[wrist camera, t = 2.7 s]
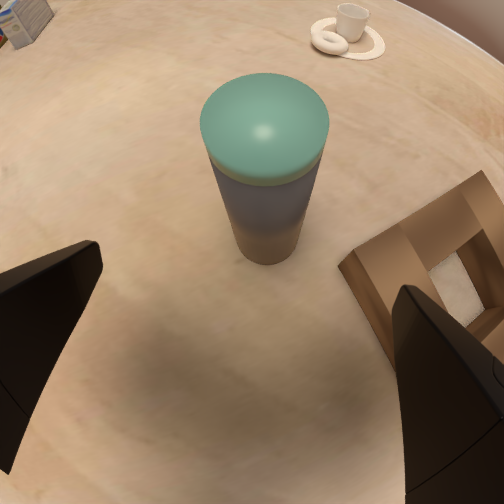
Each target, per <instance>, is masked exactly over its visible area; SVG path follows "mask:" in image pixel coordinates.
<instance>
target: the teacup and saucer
mask: <svg viewBox="0 0 504 504" xmlns="http://www.w3.org/2000/svg"><path fill="white" fill-rule="evenodd" d="M370 15H371V13H370V12H369V11H368V10H367V9H364V8H363V7H361V6H358V5H355V4H350V3H343V4H340V5H338V7H337V18H325V19H321V20H319V21H317V22H315V23H314V24H313V25H312V27H311V30H310V32H311V41H312V44H313V45H314V46H315V47H316V48H317V49H319V50H320V51H322V52H325V53H328V54H334V55H338V56H341V57H345V58H349V59H355V60H371V59H375V58H378V57H380V56H381V55H382V54H383V53H384V51H385V43H384V41H383V39H382V38H381V36H380V35H379V34H378V33H377V32H376V31H374V30H373V29H372V28H370V27H368V26H366V23H367V22H368V20H369V18H370ZM330 24H336V31H337V34H336V33H334V32H330V31H322V29H323V28H324V27H325V26H327V25H330ZM363 31H365V32H367V33H368V34H369V35H370V36H371V37H372V39H373V40H374V48H373V49H372V50H371V51H369V52H366V53H350V52H346V51H347V50H348V42H356V41H357V40H358V39H359V38H360V37H361V35H362V33H363Z"/></svg>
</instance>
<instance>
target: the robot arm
mask: <svg viewBox="0 0 504 504" xmlns="http://www.w3.org/2000/svg"><path fill="white" fill-rule="evenodd" d="M102 270H103V262H102V257H101V252H100V247H99V244H98V243H97V242H96V241H90V240H85V241H82V242H79V243H76V244H74V245H71V246H68V247H66V248H63V249H60V250H58V251H55V252H53V253H50V254H47V255H45V256H42V257H40V258H37V259H35V260H32V261H30V262H27V263H25V264H22V265H20V266H17V267H15V268H12V269H10V270H8V271H5V272H3V273H1V274H0V469H1V470H2V471H3V472H5V473H6V474H8V475H9V473H10V471H11V469H12V466H13V463H14V460H15V457H16V454H17V452H18V449H19V446H20V444H21V441H22V438H23V436H24V433H25V431H26V428H27V426H28V424H29V421H30V418H31V416H32V414H33V411H34V409H35V407H36V404H37V402H38V400H39V398H40V395H41V393H42V391H43V389H44V387H45V385H46V383H47V380H48V378H49V376H50V374H51V372H52V370H53V368H54V366H55V364H56V362H57V360H58V358H59V356H60V354H61V352H62V350H63V348H64V346H65V344H66V343H67V341H68V339H69V337H70V335H71V333H72V331H73V330H74V328H75V326H76V324H77V322H78V320H79V319H80V317H81V315H82V313H83V311H84V309H85V307H86V305H87V303H88V301H89V299H90V296H91V294H92V292H93V290H94V288H95V286H96V283H97V281H98V279H99V277H100V275H101V273H102ZM391 316H392V330H393V349H394V362H395V370H396V377H397V385H398V392H399V401H400V410H401V420H402V432H403V445H404V463H405V493H406V495H405V504H504V364H503V363H502V362H501V361H500V360H499V359H498V358H497V357H496V356H493V354H492V353H491V352H490V351H489V350H488V349H487V348H486V347H485V346H484V345H483V344H482V343H481V342H480V341H479V340H477V339H476V338H475V337H474V336H473V335H472V334H471V333H470V332H469V331H468V330H466V329H465V328H464V327H463V326H462V325H461V324H460V323H459V322H458V321H456V320H455V319H454V318H453V317H452V316H451V315H450V314H448V313H447V312H446V311H445V310H444V309H443V308H442V307H440V306H439V305H438V304H437V303H436V302H435V301H433V300H432V299H431V298H430V297H429V296H428V295H426V294H425V293H424V292H423V291H422V290H420V289H419V288H418V287H417V286H415V285H407V284H404V285H402V286H401V288H400V290H399V292H398V295H397V297H396V300H395V302H394V304H393V307H392V313H391Z"/></svg>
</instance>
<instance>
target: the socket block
mask: <svg viewBox="0 0 504 504" xmlns="http://www.w3.org/2000/svg"><path fill="white" fill-rule="evenodd" d="M455 250H456V251H457V253H458V255H459V257H460V259H461V261H462V262H463V264H464V266H465V268H466V270H467V272H468V274H469V276H470V278H471V280H472V282H473V284H474V286H475V288H476V290H477V292H478V294H479V296H480V299H481V301H482V303H483V305H484V307H485V310H484V311H483V312H482V313H481V314H480V315H479V316H478V317H477V318H476V319H475V320H474V321H473V322H472V323H471V324H470V325H468V326H467V327H466V328H465V329H466V330H468V331H469V332H470V333H471V334H472V335H473V336H474V337H475V338H476V339H477V340H479V341H480V342H481V343H482V344H483V345H484V346H485V347H486V348H487V349H488V350H489V351H490V352H491V353H492V354H493V356H496V357H497V358H498V359H499V360H500V361H501V362H502V363H503V364H504V205H503V203H502V201H501V200H500V198H499V196H498V195H497V193H496V191H495V190H494V188H493V187H492V185H491V183H490V182H489V180H488V179H487V177H486V176H485V174H484V173H483V171H482V170H480V171H479V172H477V173H476V174H474V175H473V176H471V177H470V178H468V179H467V180H465V181H464V182H462V183H461V184H459V185H458V186H456V187H455V188H453V189H451V190H450V191H448V192H447V193H445V194H444V195H442V196H441V197H439V198H437V199H436V200H434V201H433V202H431V203H429V204H428V205H426V206H425V207H423V208H421V209H420V210H418V211H417V212H415V213H413V214H412V215H410V216H409V217H407V218H405V219H404V220H402V221H400V222H399V223H397V224H395V225H394V226H392V227H390V228H389V229H387V230H385V231H384V232H382V233H380V234H379V235H377V236H375V237H374V238H372V239H370V240H369V241H367V242H365V243H364V244H362V245H360V246H358V247H357V248H355V249H353V250H352V251H351V253H350V254H349V255H348V256H347V257H346V258H345V259H344V260H343V261H342V262H341V263H340V264H339V265H338V267H339V269H340V271H341V272H342V274H343V276H344V278H345V279H346V281H347V283H348V285H349V286H350V288H351V290H352V292H353V293H354V295H355V297H356V299H357V300H358V302H359V304H360V306H361V308H362V309H363V311H364V313H365V315H366V317H367V319H368V320H369V322H370V324H371V326H372V328H373V330H374V332H375V333H376V335H377V337H378V339H379V341H380V343H381V345H382V347H383V349H384V351H385V353H386V354H387V356H388V358H389V360H390V362H391V364H392V366H393V368H394V370H395V362H394V349H393V330H392V316H391V313H392V307H393V304H394V302H395V300H396V297H397V295H398V292H399V290H400V288H401V286H402V285H404V284H407V285H415V286H417V287H418V288H419V289H420V290H422V291H423V292H424V293H425V294H426V295H428V296H429V297H430V298H431V299H432V300H433V301H435V302H436V303H437V304H438V305H439V306H440V307H442V308H443V309H444V310H445V311H446V312H447V313H448V311H447V309H446V307H445V305H444V303H443V301H442V299H441V297H440V296H439V294H438V292H437V290H436V288H435V286H434V284H433V282H432V280H431V278H430V277H429V275H428V273H427V272H428V271H429V270H430V269H432V268H433V267H434V266H436V265H437V264H439V263H440V262H441V261H442V260H444V259H445V258H446V257H448V256H449V255H450V254H452V253H453V252H454V251H455ZM395 372H396V370H395Z"/></svg>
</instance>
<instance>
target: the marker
mask: <svg viewBox="0 0 504 504" xmlns="http://www.w3.org/2000/svg"><path fill="white" fill-rule="evenodd" d="M200 130H201V133H202V137H203V140H204V143H205V146H206V149H207V152H208V155H209V159H210V162H211V165H212V168H213V171H214V174H215V177H216V180H217V183H218V186H219V189H220V192H221V195H222V198H223V201H224V205H225V208H226V211H227V214H228V217H229V220H230V223H231V226H232V229H233V232H234V235H235V238H236V241H237V244H238V246H239V249H240V250H241V252H242V253H243V254H244V256H246V257H247V258H248V259H249V260H251V261H253V262H255V263H258V264H262V265H272V264H276V263H279V262H281V261H283V260H285V259H286V258H287V257H289V255H290V254H291V253H292V252H293V250H294V249H295V247H296V244H297V241H298V237H299V234H300V230H301V227H302V224H303V220H304V217H305V213H306V210H307V207H308V203H309V200H310V196H311V193H312V189H313V186H314V182H315V178H316V175H317V171H318V168H319V164H320V160H321V157H322V153H323V149H324V145H325V142H326V138H327V134H328V130H329V115H328V111H327V108H326V106H325V104H324V102H323V101H322V99H321V98H320V97H319V95H318V94H317V93H316V92H315V91H314V90H313V89H311V88H310V87H309V86H307V85H306V84H304V83H302V82H300V81H298V80H296V79H294V78H291V77H288V76H284V75H279V74H272V73H258V74H250V75H246V76H242V77H239V78H236V79H233V80H231V81H229V82H227V83H225V84H224V85H222V86H221V87H219V88H218V89H217V90H216V91H215V92H214V93H213V94H212V95H211V96H210V97H209V98H208V100H207V101H206V103H205V104H204V107H203V109H202V112H201V116H200Z"/></svg>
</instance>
